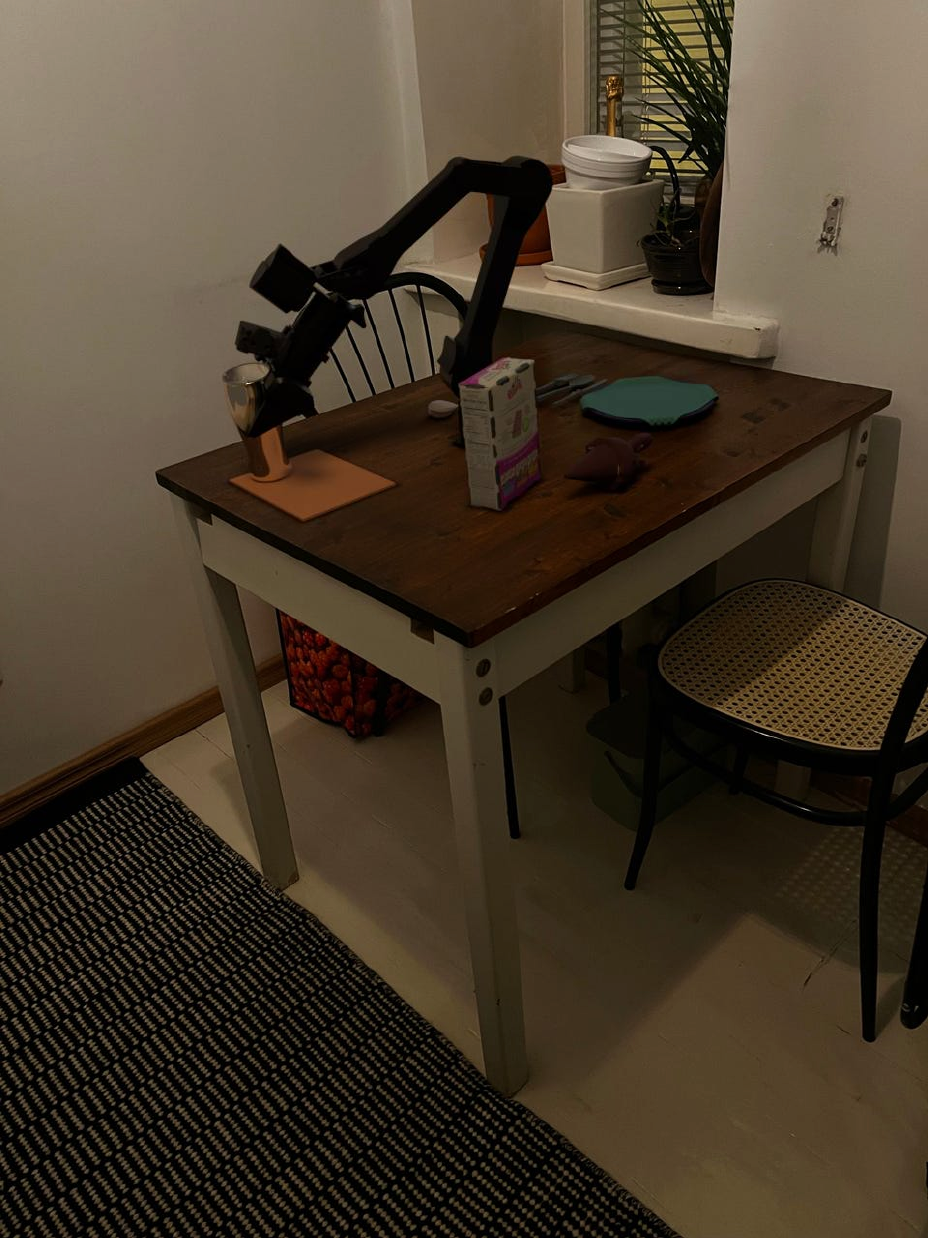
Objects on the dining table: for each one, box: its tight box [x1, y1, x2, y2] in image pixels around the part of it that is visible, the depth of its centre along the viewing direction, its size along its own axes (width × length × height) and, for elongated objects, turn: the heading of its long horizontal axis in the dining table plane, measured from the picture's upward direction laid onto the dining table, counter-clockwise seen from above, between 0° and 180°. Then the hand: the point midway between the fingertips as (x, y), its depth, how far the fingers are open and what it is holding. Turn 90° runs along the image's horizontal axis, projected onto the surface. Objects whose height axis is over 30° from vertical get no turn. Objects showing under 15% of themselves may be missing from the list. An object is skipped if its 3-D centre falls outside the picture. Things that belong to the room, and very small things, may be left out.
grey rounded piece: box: [427, 399, 459, 419], centre depth 153 cm, size 4×5×2 cm
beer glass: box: [221, 361, 292, 481], centre depth 131 cm, size 7×7×15 cm
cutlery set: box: [536, 372, 720, 428], centre depth 151 cm, size 20×30×2 cm, turn 46°
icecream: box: [562, 432, 654, 492], centre depth 123 cm, size 7×7×15 cm
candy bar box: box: [458, 356, 542, 512], centre depth 122 cm, size 11×5×16 cm, turn 148°
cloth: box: [228, 448, 397, 523], centre depth 134 cm, size 20×15×1 cm
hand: (248, 428), depth 131 cm, fingers closed on beer glass, 7 cm apart
